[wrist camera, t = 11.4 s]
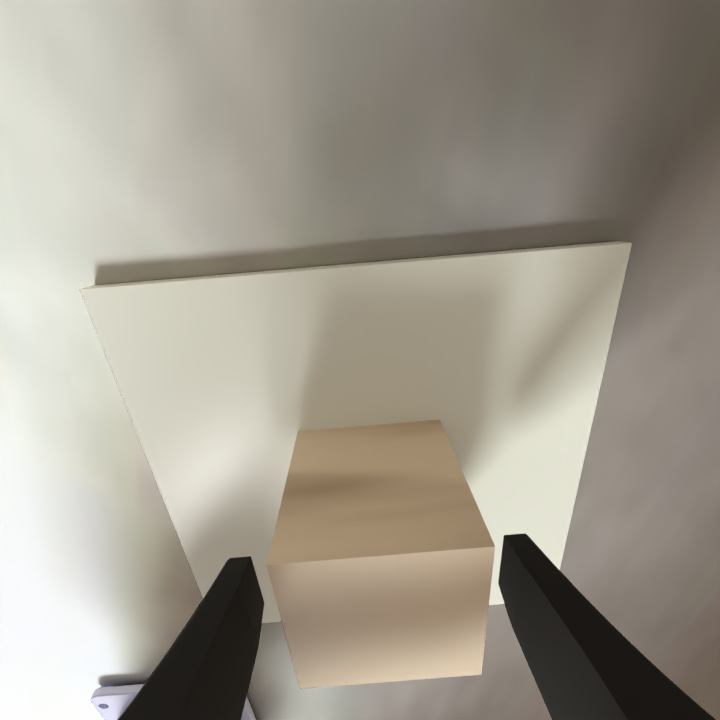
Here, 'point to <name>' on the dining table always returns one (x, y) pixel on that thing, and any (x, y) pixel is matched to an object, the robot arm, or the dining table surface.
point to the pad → (364, 382)
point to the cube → (380, 557)
